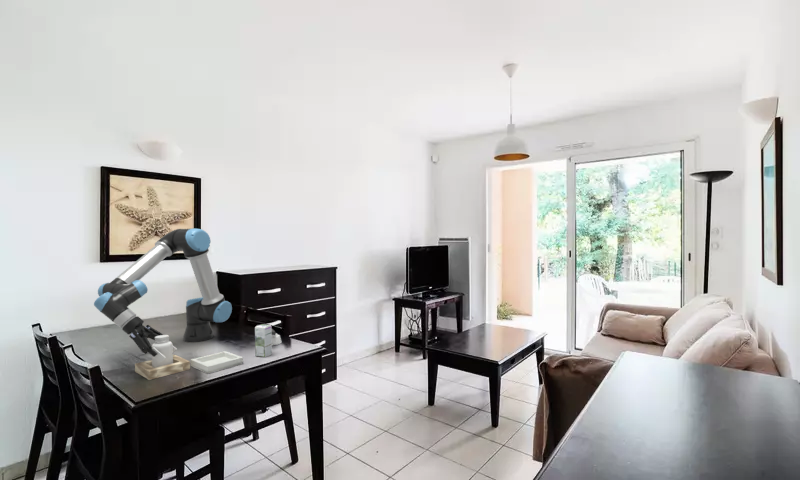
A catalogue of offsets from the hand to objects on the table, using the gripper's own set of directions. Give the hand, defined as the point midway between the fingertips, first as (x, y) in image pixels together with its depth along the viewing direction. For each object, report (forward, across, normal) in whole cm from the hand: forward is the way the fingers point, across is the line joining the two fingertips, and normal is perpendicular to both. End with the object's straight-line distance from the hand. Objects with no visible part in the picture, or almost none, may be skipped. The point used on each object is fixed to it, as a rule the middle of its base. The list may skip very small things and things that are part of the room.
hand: (169, 355), depth 172 cm
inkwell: (+32, -30, +23) cm, 50 cm away
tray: (+18, -3, +9) cm, 20 cm away
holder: (+3, 0, -6) cm, 7 cm away
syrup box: (+31, -14, +22) cm, 40 cm away
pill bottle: (+3, 0, -6) cm, 7 cm away
